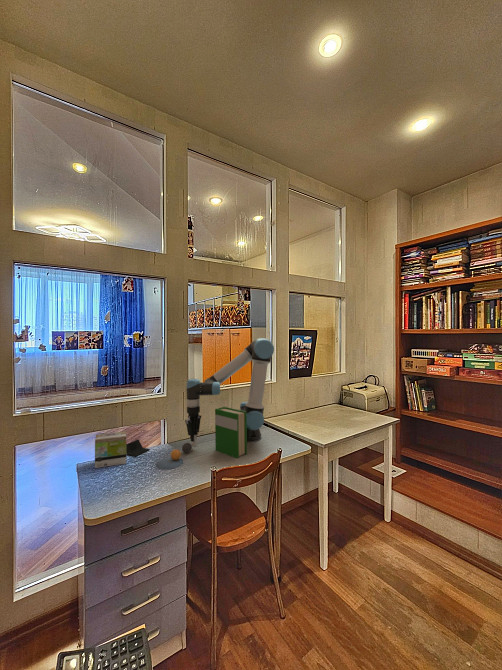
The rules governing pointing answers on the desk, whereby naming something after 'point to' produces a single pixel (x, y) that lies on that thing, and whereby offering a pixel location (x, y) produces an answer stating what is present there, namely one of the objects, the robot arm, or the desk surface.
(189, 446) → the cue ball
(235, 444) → the hardback book
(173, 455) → the orange ball
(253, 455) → the desk surface
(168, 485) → the desk surface
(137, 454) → the black bookend
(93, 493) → the desk surface
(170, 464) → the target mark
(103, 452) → the tea box
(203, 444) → the desk surface
